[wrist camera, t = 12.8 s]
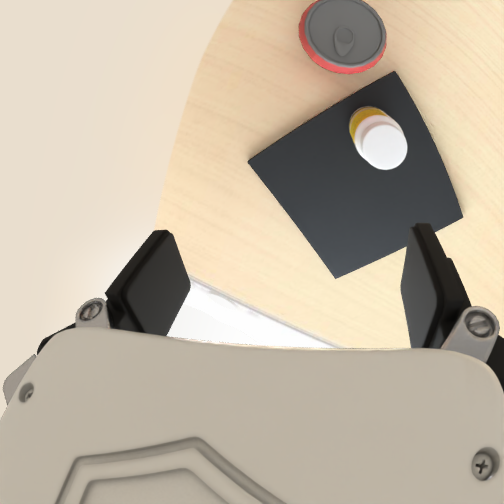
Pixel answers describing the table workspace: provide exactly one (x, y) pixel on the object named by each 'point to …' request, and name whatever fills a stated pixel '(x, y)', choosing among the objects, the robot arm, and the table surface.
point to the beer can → (342, 35)
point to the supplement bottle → (377, 138)
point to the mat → (358, 181)
